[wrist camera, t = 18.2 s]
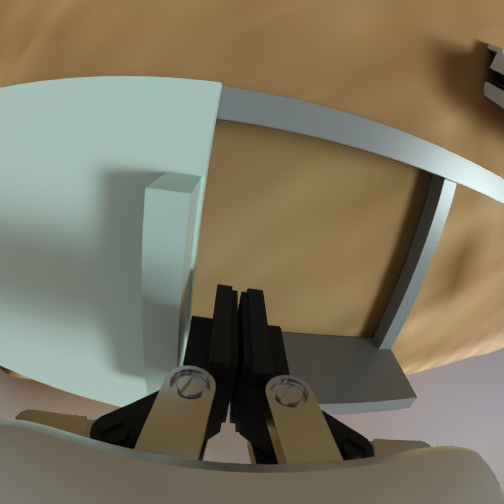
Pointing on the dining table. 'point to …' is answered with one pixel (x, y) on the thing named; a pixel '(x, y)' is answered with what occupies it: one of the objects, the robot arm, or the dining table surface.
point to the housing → (416, 265)
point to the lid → (101, 228)
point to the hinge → (500, 65)
